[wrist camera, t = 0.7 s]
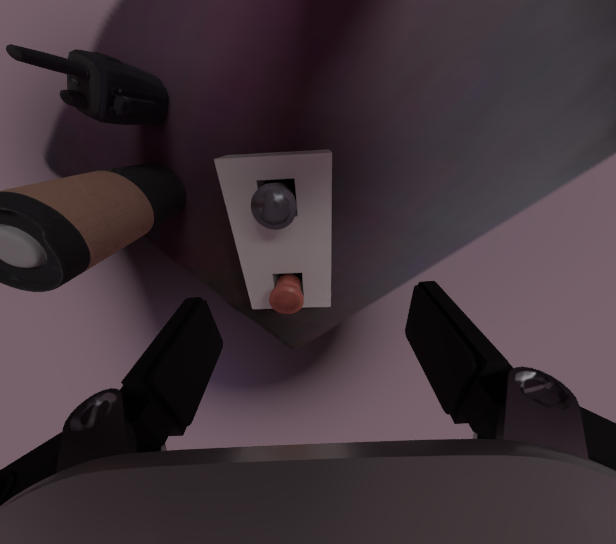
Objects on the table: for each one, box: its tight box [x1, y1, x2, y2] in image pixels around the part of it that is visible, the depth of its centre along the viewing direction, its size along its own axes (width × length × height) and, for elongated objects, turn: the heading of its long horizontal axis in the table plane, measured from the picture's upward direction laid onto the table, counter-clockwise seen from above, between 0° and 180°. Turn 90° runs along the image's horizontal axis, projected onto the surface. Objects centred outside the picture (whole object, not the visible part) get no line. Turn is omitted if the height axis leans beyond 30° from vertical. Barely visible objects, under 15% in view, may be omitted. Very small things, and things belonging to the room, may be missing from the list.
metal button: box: [251, 182, 297, 230], centre depth 27 cm, size 5×5×4 cm
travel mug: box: [0, 164, 186, 292], centre depth 24 cm, size 8×8×20 cm
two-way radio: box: [6, 44, 168, 125], centre depth 21 cm, size 6×4×15 cm
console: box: [214, 149, 332, 309], centre depth 34 cm, size 24×14×5 cm, turn 3°
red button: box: [269, 274, 304, 314], centre depth 34 cm, size 5×5×4 cm
